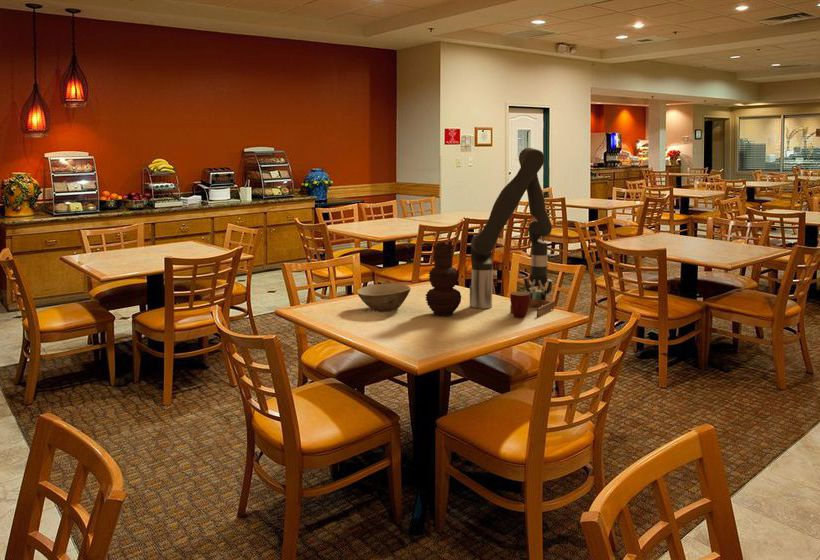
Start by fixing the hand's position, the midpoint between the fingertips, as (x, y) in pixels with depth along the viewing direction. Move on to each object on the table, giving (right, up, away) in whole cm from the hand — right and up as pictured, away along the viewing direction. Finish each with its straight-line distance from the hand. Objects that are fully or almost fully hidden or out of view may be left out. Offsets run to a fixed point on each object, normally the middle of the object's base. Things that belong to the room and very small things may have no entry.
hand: (538, 301), depth 314 cm
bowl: (-70, -4, -9) cm, 71 cm away
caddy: (-5, -4, -15) cm, 16 cm away
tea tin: (0, -1, 0) cm, 1 cm away
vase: (-44, -5, -19) cm, 49 cm away
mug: (-13, -6, -26) cm, 29 cm away
